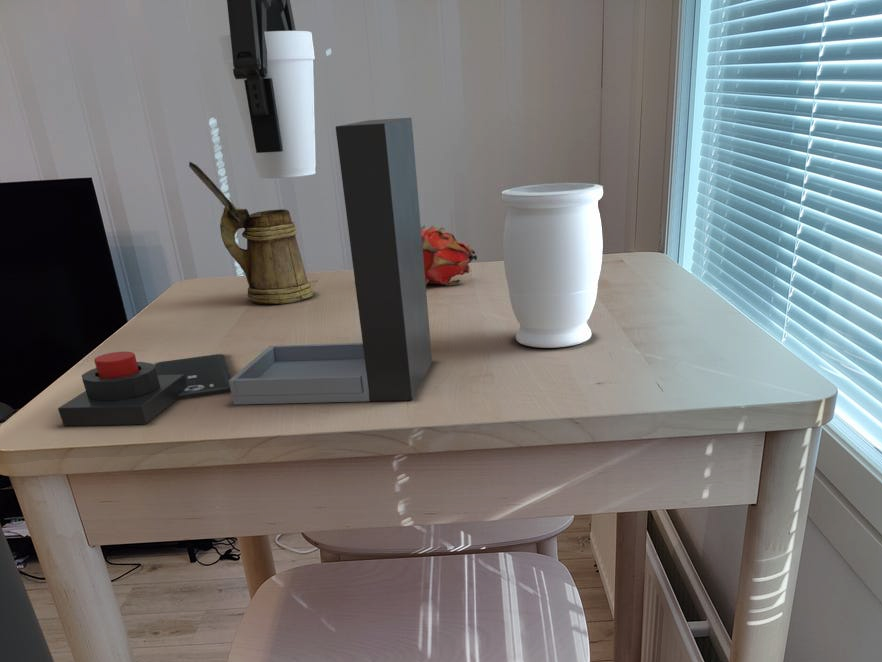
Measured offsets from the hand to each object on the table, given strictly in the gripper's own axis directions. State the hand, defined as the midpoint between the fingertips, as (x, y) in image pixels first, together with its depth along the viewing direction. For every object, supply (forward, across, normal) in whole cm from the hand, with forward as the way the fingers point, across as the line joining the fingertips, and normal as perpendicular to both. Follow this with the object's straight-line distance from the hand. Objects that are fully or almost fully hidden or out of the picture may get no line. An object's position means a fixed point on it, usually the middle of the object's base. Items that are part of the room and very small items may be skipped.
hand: (283, 148), depth 95 cm
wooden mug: (+20, -20, -12) cm, 30 cm away
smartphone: (+20, +20, -8) cm, 29 cm away
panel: (+19, +30, -10) cm, 37 cm away
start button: (+16, +29, -10) cm, 35 cm away
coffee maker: (+19, +23, +9) cm, 32 cm away
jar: (+20, +9, +30) cm, 37 cm away
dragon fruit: (+20, -26, +12) cm, 35 cm away
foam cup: (+3, 0, 0) cm, 3 cm away
